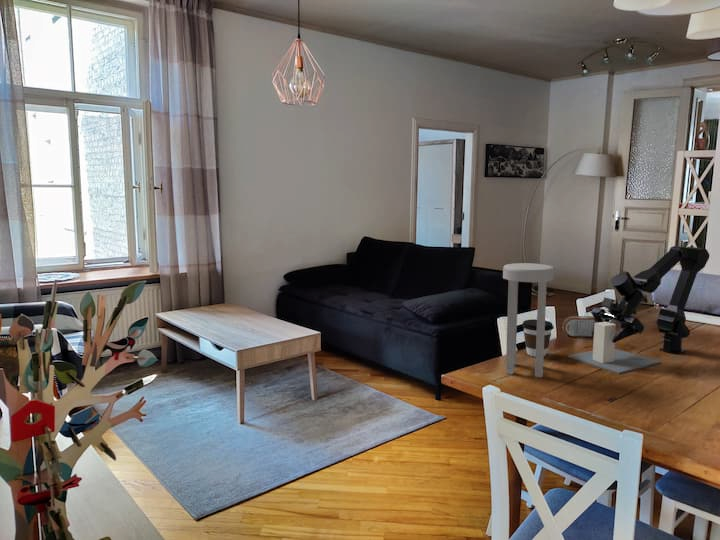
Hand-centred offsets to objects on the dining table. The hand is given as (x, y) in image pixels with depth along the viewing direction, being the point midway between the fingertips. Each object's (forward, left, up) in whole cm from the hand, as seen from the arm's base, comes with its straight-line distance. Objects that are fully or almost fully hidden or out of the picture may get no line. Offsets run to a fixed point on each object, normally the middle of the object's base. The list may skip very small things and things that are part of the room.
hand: (602, 338), depth 181 cm
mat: (-5, +1, -8) cm, 10 cm away
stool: (+29, -7, -9) cm, 31 cm away
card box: (-1, 0, -8) cm, 8 cm away
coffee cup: (+13, -17, -9) cm, 23 cm away
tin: (-21, -25, -9) cm, 34 cm away
